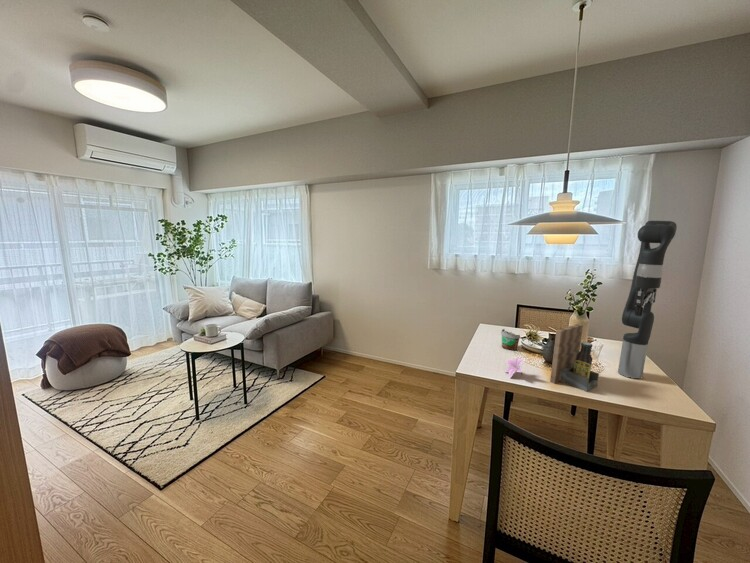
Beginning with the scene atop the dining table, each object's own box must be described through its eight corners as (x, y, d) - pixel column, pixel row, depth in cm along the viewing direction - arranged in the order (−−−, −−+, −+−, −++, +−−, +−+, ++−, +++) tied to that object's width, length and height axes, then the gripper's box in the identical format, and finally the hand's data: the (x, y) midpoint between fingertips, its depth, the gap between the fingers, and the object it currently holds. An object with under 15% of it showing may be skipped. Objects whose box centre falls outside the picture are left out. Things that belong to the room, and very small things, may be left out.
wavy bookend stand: (572, 372, 150) (578, 324, 145) (602, 383, 139) (609, 331, 135) (550, 381, 139) (556, 330, 135) (580, 394, 128) (588, 339, 124)
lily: (506, 369, 154) (500, 354, 152) (531, 365, 148) (524, 350, 146) (507, 386, 144) (500, 370, 142) (533, 383, 138) (526, 367, 136)
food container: (494, 345, 184) (496, 329, 182) (502, 344, 186) (503, 328, 184) (511, 352, 173) (513, 336, 171) (519, 351, 175) (520, 335, 173)
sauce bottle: (569, 383, 138) (575, 342, 135) (573, 379, 142) (578, 339, 139) (586, 389, 133) (593, 346, 130) (589, 384, 138) (595, 343, 134)
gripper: (644, 273, 127) (638, 310, 129) (629, 275, 119) (623, 314, 122) (667, 275, 120) (661, 314, 123) (654, 277, 113) (647, 319, 116)
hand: (642, 314), depth 123 cm, fingers open, 8 cm apart
